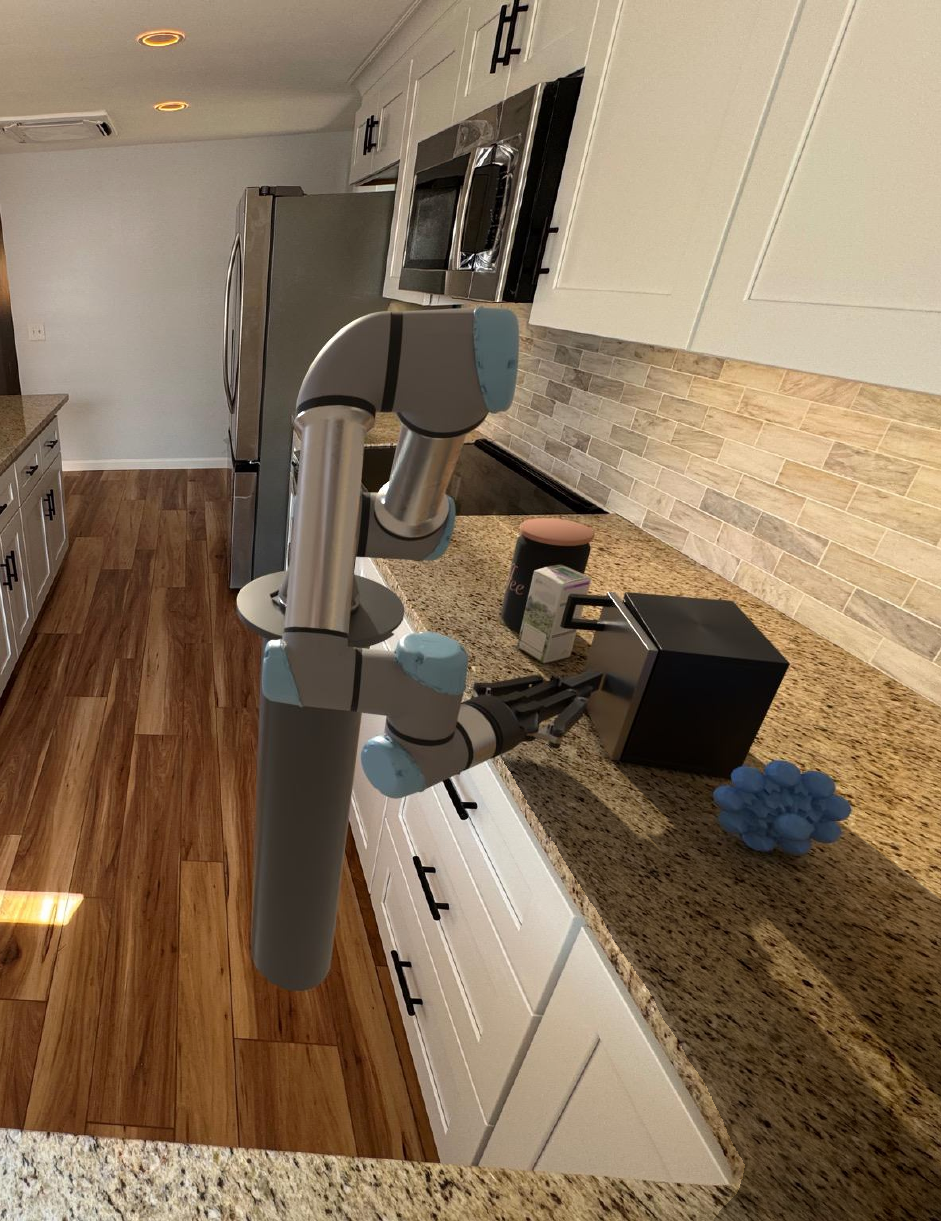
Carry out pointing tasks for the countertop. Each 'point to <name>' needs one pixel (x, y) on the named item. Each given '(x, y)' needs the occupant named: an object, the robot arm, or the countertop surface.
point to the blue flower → (781, 807)
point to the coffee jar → (542, 559)
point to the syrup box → (551, 613)
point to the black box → (701, 685)
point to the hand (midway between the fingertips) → (595, 679)
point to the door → (613, 666)
